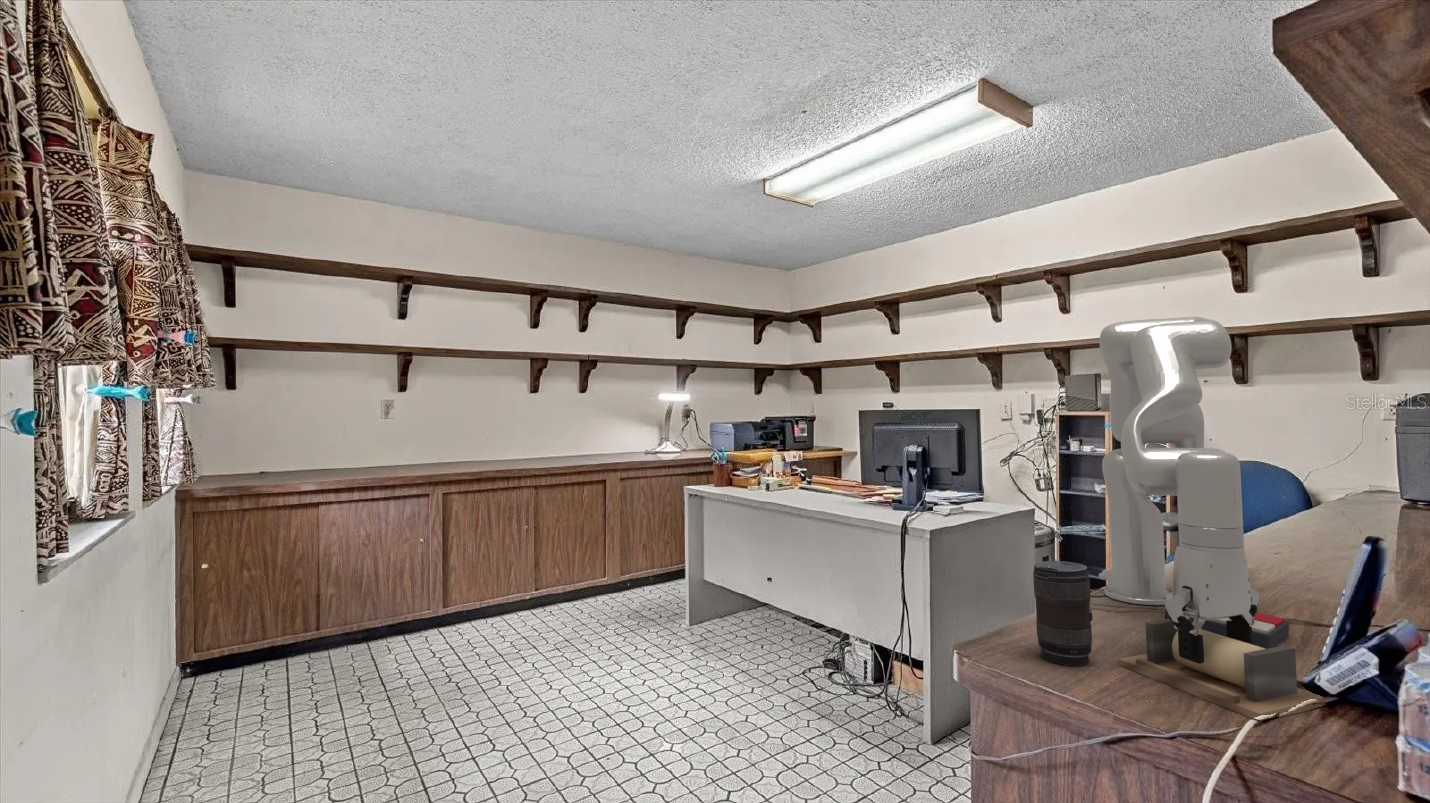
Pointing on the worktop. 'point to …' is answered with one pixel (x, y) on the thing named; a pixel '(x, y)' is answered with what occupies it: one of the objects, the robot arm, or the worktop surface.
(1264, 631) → the calculator
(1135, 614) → the worktop surface
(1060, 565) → the camera lens
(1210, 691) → the roll holder
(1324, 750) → the worktop surface
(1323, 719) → the worktop surface
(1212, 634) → the beige cylinder
